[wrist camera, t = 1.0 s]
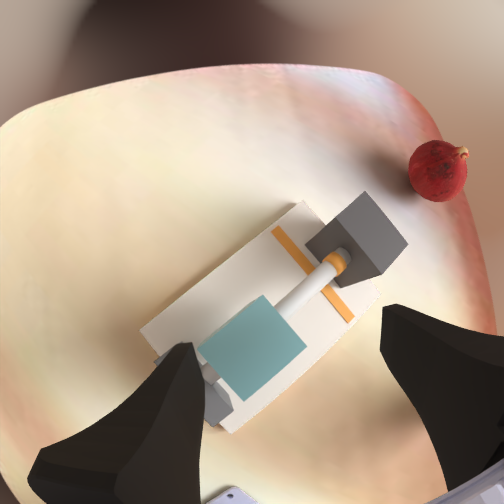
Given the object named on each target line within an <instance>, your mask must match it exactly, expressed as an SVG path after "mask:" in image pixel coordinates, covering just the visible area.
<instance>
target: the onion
mask: <svg viewBox="0 0 504 504" xmlns="http://www.w3.org/2000/svg"><path fill="white" fill-rule="evenodd" d="M468 157H469V152H468V149H466V148H464V147H463V146H462V147H455V146H453V145H452V144H450V143H448V142H444V141H439V140H432V141H429V142H427V143H424V144H422V145H421V146H419V147H418V148H417V149H416V150H415V152H414V153H413V155H412V156H411V158H410V161H409V167H408V174H409V179H410V182H411V185H412V186H413V188H414V190H415V191H416V192H417V193H418V194H419V195H421V196H422V197H423V198H425V199H428V200H430V201H434V202H444V201H449V200H451V199H452V198H454V197H455V196H456V195H457V194H458V193H459V192H460V191H461V190H462V188H463V186H464V184H465V181H466V177H467V165H466V161H465V159H466V158H468Z"/></svg>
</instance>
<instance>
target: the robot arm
mask: <svg viewBox="0 0 504 504" xmlns="http://www.w3.org/2000/svg"><path fill="white" fill-rule="evenodd" d="M380 352H381V354H382V356H383V358H384V360H385V362H386V364H387V366H388V368H389V370H390V371H391V373H392V374H393V376H394V377H395V379H396V380H397V382H398V383H399V385H400V386H401V388H402V389H403V391H404V392H405V394H406V395H407V396H408V398H409V399H410V401H411V402H412V404H413V405H414V407H415V408H416V410H417V412H418V414H419V415H420V417H421V419H422V421H423V423H424V425H425V428H426V430H427V432H428V434H429V436H430V439H431V441H432V443H433V446H434V448H435V451H436V453H437V456H438V459H439V462H440V465H441V468H442V471H443V474H444V478H445V481H446V485H447V489H448V493H446V494H444V495H442V496H440V497H438V498H436V499H434V500H432V501H430V502H427V503H425V504H504V337H503V336H496V335H490V334H484V333H480V332H476V331H472V330H468V329H464V328H461V327H458V326H455V325H452V324H449V323H446V322H444V321H441V320H438V319H436V318H433V317H431V316H428V315H426V314H423V313H421V312H418V311H416V310H413V309H411V308H408V307H405V306H403V305H399V304H393V305H389V306H385V307H383V310H382V327H381V341H380ZM204 413H205V382H204V379H203V376H202V373H201V370H200V366H199V363H198V360H197V357H196V353H195V350H194V346H193V343H192V342H187V343H179V344H176V345H175V346H174V347H173V348H172V349H171V351H170V352H169V353H168V354H167V356H166V357H165V358H164V359H163V361H162V362H161V363H160V364H159V365H158V367H157V368H156V369H155V370H154V371H153V372H152V374H151V375H150V376H149V377H148V378H147V379H146V380H145V381H144V382H143V383H142V384H141V385H140V387H139V388H138V389H137V390H136V391H135V392H134V393H133V394H132V395H131V396H130V397H128V398H127V399H126V400H125V401H124V402H123V403H122V404H120V405H119V406H118V407H117V408H116V409H114V410H113V411H112V412H110V413H109V414H107V415H106V416H104V417H103V418H102V419H100V420H99V421H97V422H96V423H94V424H93V425H91V426H89V427H88V428H86V429H84V430H83V431H81V432H79V433H77V434H75V435H73V436H71V437H69V438H67V439H65V440H62V441H60V442H57V443H55V444H52V445H50V446H47V447H44V448H42V449H41V450H40V452H39V454H38V456H37V458H36V460H35V462H34V464H33V466H32V469H31V471H30V473H29V475H28V477H27V480H28V484H29V486H30V487H31V489H32V490H33V491H34V492H35V493H36V494H37V495H38V496H39V497H40V498H41V499H42V500H43V501H44V502H45V503H47V504H201V501H200V478H199V459H200V447H201V439H202V430H203V422H204ZM228 494H233V495H232V496H227V495H228ZM206 504H259V503H258V502H257V501H255V500H254V499H253V498H251V497H250V496H249V495H248V494H246V493H245V492H244V491H243V490H241V489H240V488H239V487H235V486H234V487H231V488H229V489H228V490H226V491H225V492H223V493H222V494H220V495H218V496H217V497H215V498H214V499H212V500H211V501H209V502H207V503H206Z"/></svg>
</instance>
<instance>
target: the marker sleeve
mask: <svg viewBox="0 0 504 504" xmlns="http://www.w3.org/2000/svg"><path fill="white" fill-rule="evenodd" d="M306 347H307V345H306V344H305V343H304V342H303V341H302V340H301V338H300V337H299V336H298V335H297V334H296V333H295V331H294V330H293V329H292V328H291V327H290V326H289V324H288V323H287V322H286V321H285V320H284V319H283V317H282V316H281V315H280V314H279V313H278V312H277V310H276V309H275V308H274V307H273V306H272V305H271V303H270V302H269V301H268V300H267V299H266V297H265V296H264V295H261V296H260V297H258V298H256V299H255V300H253V301H252V302H250V303H248V304H247V305H246V306H245V307H244V308H242V309H241V310H240V311H239V312H238V313H236V314H235V315H234V316H233V317H232V318H230V319H229V320H228V321H227V322H226V323H224V324H223V325H222V326H221V327H219V328H218V329H217V330H216V331H215V332H213V333H212V334H211V335H210V336H208V337H207V338H206V339H205V340H204V341H202V342H201V343H200V344H199V346H198V348H197V350H198V351H199V353H200V354H201V355H202V356H203V357H204V358H205V360H206V361H207V362H208V363H209V364H210V365H211V367H212V368H213V369H214V370H215V371H216V372H217V373H218V374H219V376H220V377H221V378H222V379H223V380H224V381H225V382H226V383H227V384H228V385H229V387H230V388H231V389H232V390H233V391H234V392H235V393H236V394H237V395H238V396H239V397H240V398H241V399H242V400H243V402H244V401H246V400H247V399H248V398H249V397H250V396H252V395H253V394H254V393H255V392H256V391H258V390H259V389H260V388H261V387H262V386H264V385H265V384H266V383H267V382H268V381H269V380H271V379H272V378H273V377H274V376H275V375H276V374H278V373H279V372H280V371H281V370H282V369H283V368H284V367H285V366H287V365H288V364H289V363H290V362H291V361H292V360H293V359H294V358H295V357H297V356H298V355H299V354H300V353H301V352H302V351H303V350H304V349H305V348H306Z"/></svg>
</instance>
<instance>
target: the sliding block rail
mask: <svg viewBox="0 0 504 504" xmlns="http://www.w3.org/2000/svg"><path fill="white" fill-rule="evenodd" d="M407 245H408V243H407V242H406V240H405V239H404V238H403V237H402V235H401V234H400V233H399V231H398V230H397V229H396V228H395V226H394V225H393V224H392V223H391V221H390V220H389V219H388V218H387V216H386V215H385V214H384V213H383V212H382V210H381V209H380V208H379V207H378V205H377V204H376V203H375V202H374V201H373V200H372V198H371V197H370V196H369V195H368V194H367V193H366V191H364V192H363V193H362V194H361V195H360V196H359V197H358V198H357V199H355V200H354V201H353V202H352V203H351V204H350V205H349V206H348V207H346V208H345V209H344V210H343V211H342V212H341V213H340V214H338V215H337V216H336V217H335V218H334V219H333V220H332V221H331V222H329V223H328V224H327V225H325V224H324V223H323V222H322V221H321V220H320V218H319V217H318V216H317V215H316V214H315V213H314V212H313V210H312V209H311V208H310V207H309V206H308V205H307V204H306V203H305V201H304V200H302V201H301V202H299V203H298V204H297V205H296V206H294V207H293V208H292V209H290V210H289V211H288V212H287V213H285V214H284V215H283V216H282V217H280V218H279V219H278V220H276V221H275V222H274V223H273V224H271V225H270V226H269V227H268V228H266V229H265V230H264V231H263V232H261V233H260V234H259V235H257V236H256V237H255V238H254V239H252V240H251V241H250V242H249V243H247V244H246V245H245V246H244V247H242V248H241V249H240V250H238V251H237V252H236V253H235V254H233V255H232V256H231V257H230V258H228V259H227V260H226V261H225V262H223V263H222V264H221V265H220V266H218V267H217V268H216V269H215V270H213V271H212V272H211V273H210V274H208V275H207V276H206V277H204V278H203V279H202V280H201V281H199V282H198V283H197V284H196V285H194V286H193V287H192V288H191V289H189V290H188V291H187V292H186V293H184V294H183V295H182V296H181V297H179V298H178V299H177V300H176V301H174V302H173V303H172V304H171V305H169V306H168V307H167V308H166V309H165V310H163V311H162V312H161V313H160V314H158V315H157V316H156V317H155V318H153V319H152V320H151V321H150V322H148V323H147V324H146V325H145V326H143V327H142V328H141V329H140V330H139V331H140V332H141V334H142V335H143V336H144V338H145V339H146V340H147V341H148V343H149V344H150V345H151V347H152V348H153V349H154V350H155V352H156V353H157V354H158V355H159V358H158V359H157V360H155V361H154V363H155V364H156V365H157V366H158V365H159V364H160V363H161V362H162V361H163V359H164V358H165V357H166V356H167V354H168V353H169V352H170V351H171V349H172V348H173V347H174V346H175V345H176V344H179V343H187V342H192V343H193V346H194V350H195V353H196V357H197V360H198V363H199V366H200V370H201V373H202V376H203V379H204V382H205V413H204V419H205V420H206V421H207V422H208V423H209V424H210V425H211V426H212V427H214V426H215V425H217V424H218V423H220V424H221V425H222V426H223V427H224V428H225V429H226V430H227V431H228V432H229V433H230V434H232V433H233V432H235V431H236V430H237V429H239V428H240V427H241V426H242V425H244V424H245V423H246V422H247V421H249V420H250V419H251V418H252V417H254V416H255V415H256V414H257V413H259V412H260V411H261V410H262V409H263V408H265V407H266V406H267V405H268V404H269V403H271V402H272V401H273V400H274V399H275V398H277V397H278V396H279V395H280V394H281V393H282V392H283V391H285V390H286V389H287V388H288V387H289V386H290V385H291V384H293V383H294V382H295V381H296V380H297V379H298V378H299V377H300V376H301V375H302V374H304V373H305V372H306V371H307V370H308V369H309V368H310V367H311V366H312V365H313V364H314V363H315V362H316V361H317V360H318V359H320V358H321V357H322V356H323V355H324V354H325V353H326V352H327V351H328V350H329V349H330V348H331V347H332V346H333V345H334V344H335V343H336V342H337V341H338V340H339V339H340V338H341V337H342V336H343V335H344V334H345V333H346V332H347V331H348V330H349V329H350V328H351V327H352V326H353V324H354V323H355V322H356V321H357V320H358V319H359V318H360V317H361V316H362V315H363V314H364V313H365V312H366V311H367V310H368V308H369V307H370V306H371V305H372V304H373V303H374V302H375V301H376V300H377V299H378V297H379V296H380V295H381V293H380V291H379V290H378V289H377V287H376V286H375V285H374V284H373V282H372V281H371V280H370V278H373V277H376V276H379V275H382V274H383V273H384V272H385V271H386V269H387V268H388V267H389V266H390V265H391V264H392V263H393V261H394V260H395V259H396V258H397V257H398V256H399V255H400V253H401V252H402V251H403V250H404V249H405V247H406V246H407ZM261 295H264V296H265V297H266V299H267V300H268V301H269V302H270V303H271V305H272V306H273V307H274V308H275V309H276V310H277V312H278V313H279V314H280V315H281V316H282V317H283V319H284V320H285V321H286V322H287V323H288V324H289V326H290V327H291V328H292V329H293V330H294V331H295V333H296V334H297V335H298V336H299V337H300V338H301V340H302V341H303V342H304V343H305V344H306V345H307V347H306V348H305V349H304V350H303V351H302V352H301V353H300V354H299V355H298V356H297V357H295V358H294V359H293V360H292V361H291V362H290V363H289V364H288V365H287V366H285V367H284V368H283V369H282V370H281V371H280V372H279V373H278V374H276V375H275V376H274V377H273V378H272V379H271V380H269V381H268V382H267V383H266V384H265V385H264V386H262V387H261V388H260V389H259V390H258V391H256V392H255V393H254V394H253V395H252V396H250V397H249V398H248V399H247V400H246V401H244V402H243V400H242V399H241V398H240V397H239V396H238V395H237V394H236V393H235V392H234V391H233V390H232V389H231V388H230V387H229V385H228V384H227V383H226V382H225V381H224V380H223V379H222V378H221V377H220V376H219V374H218V373H217V372H216V371H215V370H214V369H213V368H212V367H211V365H210V364H209V363H208V362H207V361H206V360H205V358H204V357H203V356H202V355H201V354H200V353H199V351H198V350H197V348H198V346H199V344H200V343H201V342H202V341H204V340H205V339H206V338H207V337H208V336H210V335H211V334H212V333H213V332H215V331H216V330H217V329H218V328H219V327H221V326H222V325H223V324H224V323H226V322H227V321H228V320H229V319H230V318H232V317H233V316H234V315H235V314H236V313H238V312H239V311H240V310H241V309H242V308H244V307H245V306H246V305H247V304H248V303H250V302H252V301H253V300H255V299H256V298H258V297H260V296H261Z"/></svg>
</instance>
